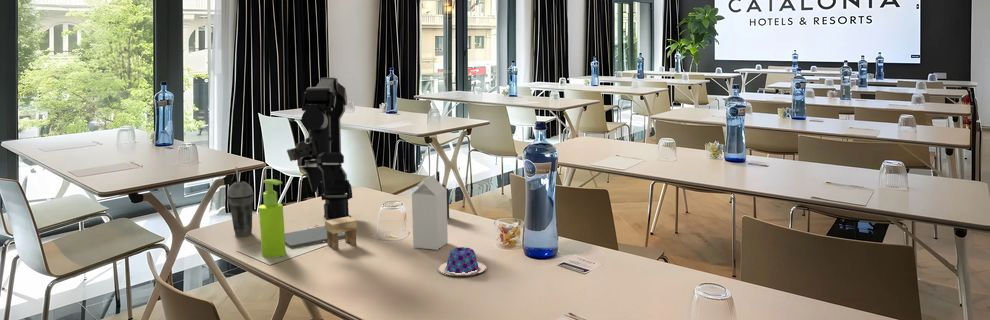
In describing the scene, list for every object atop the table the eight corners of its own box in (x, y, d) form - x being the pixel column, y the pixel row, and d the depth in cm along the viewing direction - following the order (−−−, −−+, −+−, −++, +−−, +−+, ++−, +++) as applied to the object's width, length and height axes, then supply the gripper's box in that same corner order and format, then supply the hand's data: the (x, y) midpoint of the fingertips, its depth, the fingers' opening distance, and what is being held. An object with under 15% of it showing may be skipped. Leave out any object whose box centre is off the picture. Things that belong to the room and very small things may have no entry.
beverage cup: (261, 231, 203) (256, 163, 200) (250, 238, 196) (244, 169, 193) (237, 230, 204) (231, 163, 200) (225, 237, 197) (219, 168, 193)
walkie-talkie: (442, 215, 219) (441, 169, 216) (450, 217, 217) (449, 170, 214) (432, 219, 215) (431, 171, 212) (440, 221, 213) (439, 173, 210)
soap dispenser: (275, 259, 178) (270, 183, 174) (257, 255, 182) (252, 180, 178) (293, 253, 183) (288, 179, 179) (275, 249, 187) (270, 176, 183)
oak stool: (349, 240, 194) (348, 216, 192) (357, 245, 190) (356, 220, 189) (326, 245, 190) (324, 220, 188) (333, 250, 186) (332, 224, 184)
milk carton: (447, 242, 191) (446, 175, 188) (437, 250, 185) (435, 180, 181) (424, 240, 194) (422, 173, 190) (413, 248, 187) (411, 178, 183)
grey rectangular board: (328, 228, 206) (328, 225, 206) (346, 237, 197) (345, 234, 197) (275, 237, 197) (275, 235, 197) (291, 248, 187) (290, 245, 187)
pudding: (442, 262, 177) (442, 242, 176) (489, 263, 176) (489, 243, 175) (433, 278, 165) (433, 257, 164) (483, 280, 164) (483, 258, 163)
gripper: (278, 136, 190) (279, 193, 189) (302, 129, 175) (303, 192, 174) (318, 137, 197) (318, 192, 196) (344, 131, 181) (345, 191, 181)
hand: (320, 192), depth 186 cm, fingers open, 9 cm apart
